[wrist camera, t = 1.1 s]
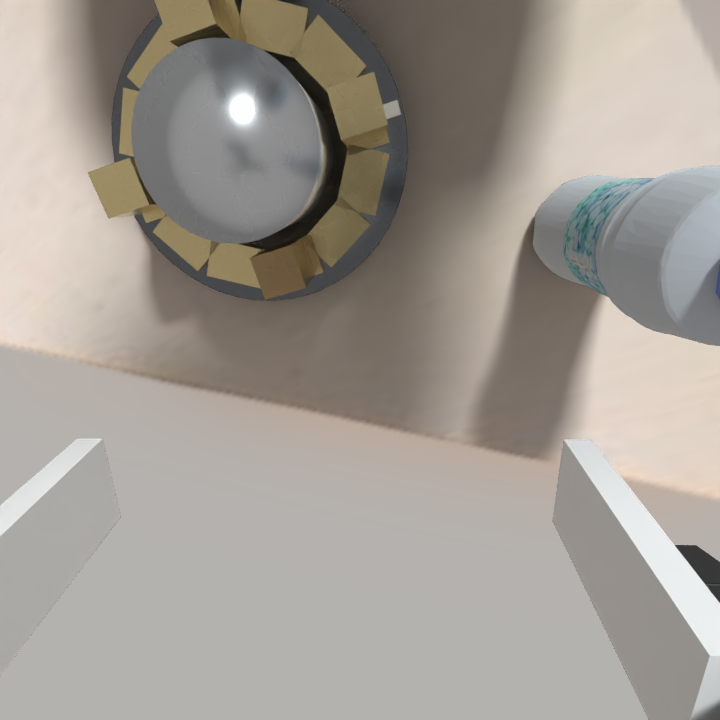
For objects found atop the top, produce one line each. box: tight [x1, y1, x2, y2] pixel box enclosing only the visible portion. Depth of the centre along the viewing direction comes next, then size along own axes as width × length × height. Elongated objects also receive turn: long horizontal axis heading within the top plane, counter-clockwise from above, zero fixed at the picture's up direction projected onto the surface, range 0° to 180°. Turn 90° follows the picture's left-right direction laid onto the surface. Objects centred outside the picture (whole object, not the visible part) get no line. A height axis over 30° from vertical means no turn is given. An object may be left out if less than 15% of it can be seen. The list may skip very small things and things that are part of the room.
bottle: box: [533, 165, 720, 346], centre depth 24 cm, size 7×7×20 cm
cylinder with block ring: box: [88, 0, 390, 300], centre depth 28 cm, size 15×15×5 cm
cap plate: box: [112, 0, 408, 301], centre depth 28 cm, size 18×18×9 cm
